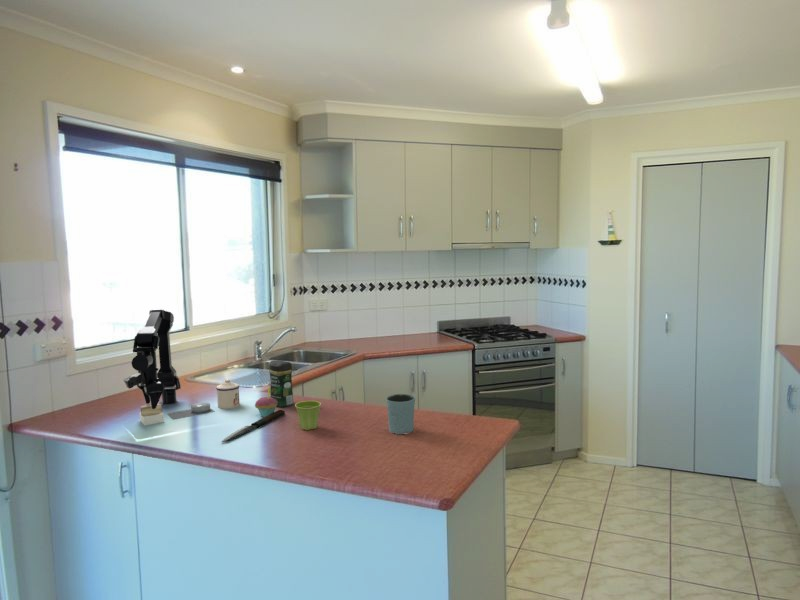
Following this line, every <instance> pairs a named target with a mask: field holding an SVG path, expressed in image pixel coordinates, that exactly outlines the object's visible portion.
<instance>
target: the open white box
mask: <svg viewBox="0 0 800 600" xmlns="http://www.w3.org/2000/svg"><path fill="white" fill-rule="evenodd" d="M138 415H139V422H140V423H141V424H142V425H143V426H144V427H145V426H150V425H155V424H161V423H164V422H165V416H164V415H165V413H164V412H163V411H162V413H160V414H157V415H153V416H142V415H141V412H139V414H138Z"/></svg>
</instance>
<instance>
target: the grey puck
mask: <svg viewBox="0 0 800 600" xmlns="http://www.w3.org/2000/svg"><path fill="white" fill-rule="evenodd" d="M190 407H191V408H190V409H191V412H192V413H204V412H208V411H210V408H211V403H209V402H196V403H193V404H191V406H190Z"/></svg>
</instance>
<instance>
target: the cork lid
mask: <svg viewBox="0 0 800 600" xmlns="http://www.w3.org/2000/svg"><path fill="white" fill-rule="evenodd" d="M162 406H163V405H162V404H160V403H158V404H157V406H156V408H155V409H152V406H151V403H149V404H145V405H142V406H140V413H141V415H142V416H153V415H157V414H160V413H162V412H163V410H162V409H163V408H162Z"/></svg>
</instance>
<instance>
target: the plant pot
mask: <svg viewBox="0 0 800 600" xmlns="http://www.w3.org/2000/svg"><path fill="white" fill-rule="evenodd" d="M321 405H322V403H321V402H320V401H317V400H304V401H298V402H297V403H295V404H294V407H295V409H296V411H297V416H298V422H299V428H300V429H301V430H303V429H305V430H304V431H309V430H315V429H317V428H318V425H319V424H318V423H319V413H320V409H321ZM314 428H315V429H314Z"/></svg>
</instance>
